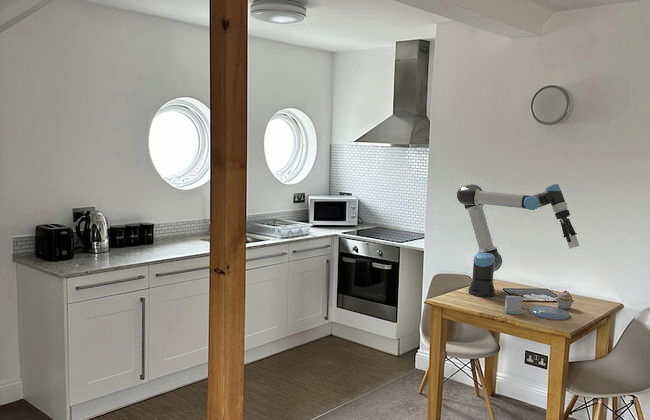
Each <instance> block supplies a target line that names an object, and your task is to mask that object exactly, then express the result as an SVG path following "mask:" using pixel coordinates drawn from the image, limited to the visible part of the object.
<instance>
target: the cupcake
mask: <svg viewBox="0 0 650 420" xmlns="http://www.w3.org/2000/svg"><path fill="white" fill-rule="evenodd" d="M555 300H556V303H557V308H560V309H563V310H570V309H571V307H572V305H573V302H574V301H575V300H573V296H572V295H571V293H570V292H569V291H567V290H562V292H559V293H558V295H557V296H556V297H555Z"/></svg>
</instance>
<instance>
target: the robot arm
mask: <svg viewBox="0 0 650 420" xmlns="http://www.w3.org/2000/svg"><path fill="white" fill-rule="evenodd" d="M560 187H561V186H560V185H559V184H558V183H554V184H551V185H549V186H546V187H545V191H543V192H540V193H537V194H534V195H529V194H528V195H525V194H515V193H505V192H496V191H495V192H494V191H485V190H483V189H482V187H480V186H479V185H478V184H468V185H463V186H461V187H460V188H458V190H457V192H456V199H457V201H458V202H459V203H460V204H462V205H463V206H464V209H465V210H466V211H468V214H469V218H470V221H471V224H472V229H473V232H474V235H475V240H476V243H477V246H478V251H477V252H476V254H474V257H473V267H472V278H471V279H472V280H471V282H470V285H469V287H468V294H469V295H471V296H476V297H482V298H485V297H487V298H491V297H495V296H496V289H495V286H494V274H495V273H494V272H497V271H498V270H499V269H500V268H501V267H502V265H503V256H501V254H500V253H499V250H498V248H497V247H496V246H494V244H493V240H492V239H493V238H492V236H491V232H490V229H489V225H488V222H487V218H486V215H485V210H484V205H486V206H487V205H488V206H498V207H506V208H508V207H509V208H518V209H525V210H529V211H534V210H537V209H539V208H542V207H544V206H547V205H551V208H552V211H553V212H554V216H555V218H556V220H559V222H560V226H561V229H562V233H563V235H562V237H563V238H565V240H566V243H567V245H568V249H574V248H577V247H579V246H580V243H579V241H578V238H577V235H578V233H577V232H576V231H575V228H574V226H573V225H572V222H571V221H570V218H569V217H570V216H571V214H570V213H571V212H570V210H569V209H568V206H567V205H568V203H567V202H566V199H565V197H564V194H563V191H562V190H561V188H560Z"/></svg>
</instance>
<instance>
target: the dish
mask: <svg viewBox="0 0 650 420" xmlns="http://www.w3.org/2000/svg"><path fill="white" fill-rule="evenodd" d="M528 313H529V314H530V315H532V316H534V317H537V318H540V319H545V320H551V321H564V320H568V319H569V318H570V313H569V311H567V310H566V309H561V308H558V307H555V306H549V305H533V306H530V307H528Z"/></svg>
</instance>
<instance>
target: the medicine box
mask: <svg viewBox="0 0 650 420" xmlns="http://www.w3.org/2000/svg"><path fill="white" fill-rule="evenodd" d="M504 303H505V304H504V313H505V314H509V315H510V314H511V315H522V310H523V298H522V296H520V295H519V296H517V295H505V302H504Z"/></svg>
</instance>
